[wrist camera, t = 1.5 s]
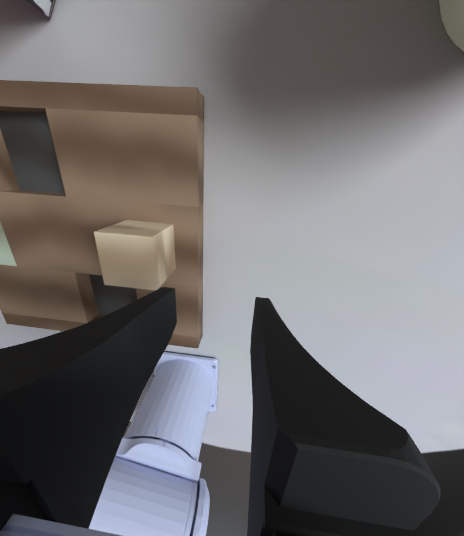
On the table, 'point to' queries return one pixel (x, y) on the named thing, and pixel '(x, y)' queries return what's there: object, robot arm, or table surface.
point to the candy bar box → (43, 6)
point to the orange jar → (453, 20)
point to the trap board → (96, 196)
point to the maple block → (136, 254)
